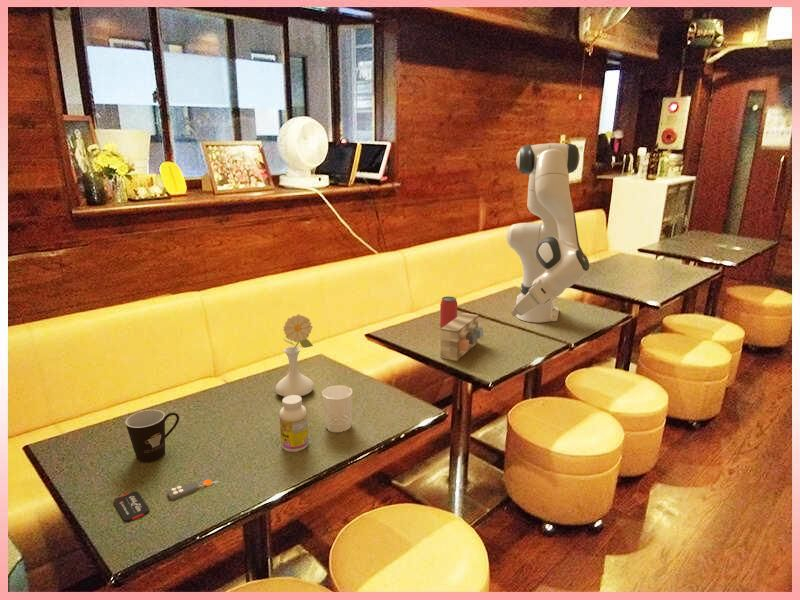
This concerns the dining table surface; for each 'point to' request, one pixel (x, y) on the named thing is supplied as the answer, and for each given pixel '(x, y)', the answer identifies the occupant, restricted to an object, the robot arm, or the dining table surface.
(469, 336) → the charcoal button
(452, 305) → the beer can
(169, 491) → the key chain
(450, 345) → the block
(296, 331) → the flower in vase
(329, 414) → the white cup
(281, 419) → the supplement bottle
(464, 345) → the terracotta button
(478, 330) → the slate-blue button
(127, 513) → the black flat block
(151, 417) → the coffee mug
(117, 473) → the dining table surface
